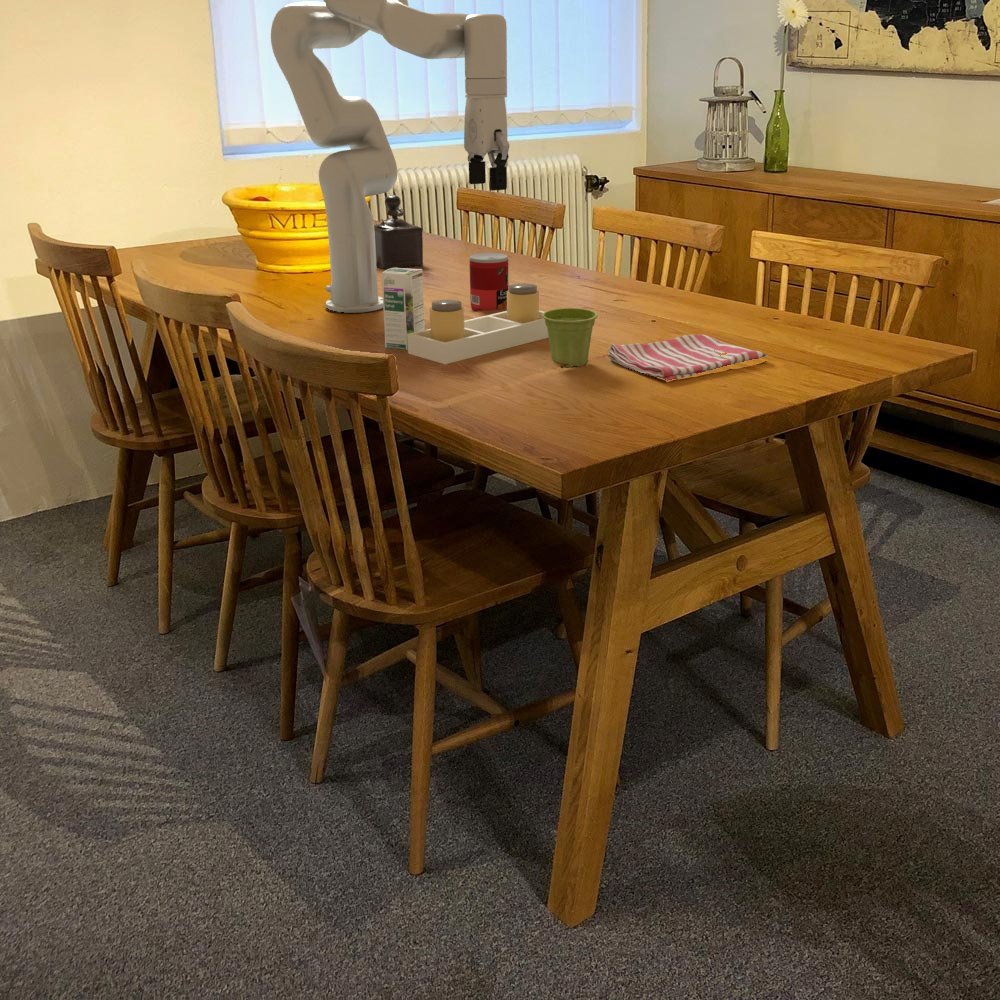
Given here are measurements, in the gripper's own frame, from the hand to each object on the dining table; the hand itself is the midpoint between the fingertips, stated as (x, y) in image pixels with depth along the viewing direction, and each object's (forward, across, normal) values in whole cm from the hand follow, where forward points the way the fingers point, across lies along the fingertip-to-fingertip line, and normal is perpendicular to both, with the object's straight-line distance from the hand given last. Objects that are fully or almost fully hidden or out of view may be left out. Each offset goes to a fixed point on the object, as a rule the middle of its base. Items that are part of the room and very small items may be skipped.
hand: (487, 186), depth 212 cm
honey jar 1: (+26, +16, -15) cm, 34 cm away
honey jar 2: (+26, +9, +3) cm, 28 cm away
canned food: (+27, -15, +7) cm, 32 cm away
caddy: (+27, +12, -6) cm, 30 cm away
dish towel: (+28, +37, +22) cm, 51 cm away
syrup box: (+27, +7, -20) cm, 34 cm away
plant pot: (+27, +28, +3) cm, 39 cm away
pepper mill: (+27, -68, +5) cm, 73 cm away
